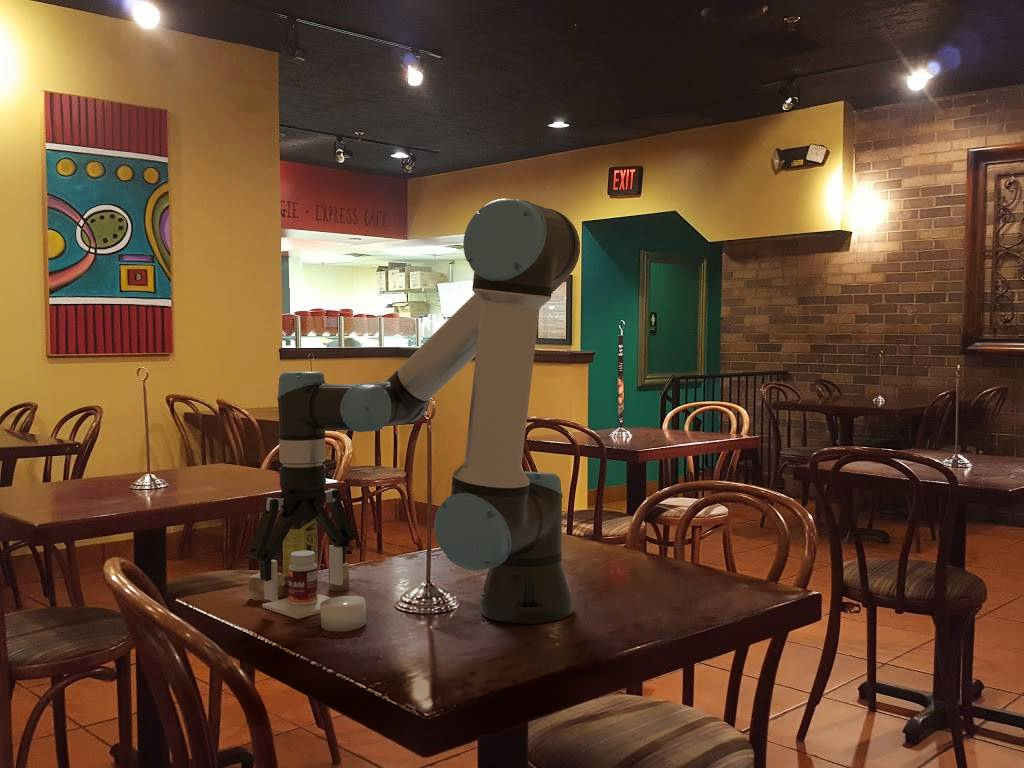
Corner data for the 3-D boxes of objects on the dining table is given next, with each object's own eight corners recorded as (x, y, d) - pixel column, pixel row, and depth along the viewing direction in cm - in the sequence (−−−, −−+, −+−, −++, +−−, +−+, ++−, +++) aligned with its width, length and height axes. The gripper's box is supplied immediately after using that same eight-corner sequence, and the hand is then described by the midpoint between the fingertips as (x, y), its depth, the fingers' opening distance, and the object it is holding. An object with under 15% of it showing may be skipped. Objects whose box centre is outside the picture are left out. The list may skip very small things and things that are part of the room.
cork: (353, 588, 169) (352, 564, 169) (337, 592, 167) (336, 567, 167) (340, 585, 172) (340, 561, 172) (324, 589, 169) (324, 564, 169)
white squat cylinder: (366, 615, 152) (364, 593, 151) (367, 628, 145) (365, 606, 145) (321, 619, 150) (320, 598, 150) (321, 633, 144) (319, 611, 143)
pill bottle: (282, 604, 157) (281, 554, 157) (302, 597, 161) (301, 548, 161) (304, 607, 155) (303, 557, 155) (323, 600, 159) (323, 551, 159)
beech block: (282, 596, 165) (281, 573, 165) (268, 602, 161) (267, 579, 161) (263, 594, 166) (262, 571, 166) (248, 600, 163) (248, 577, 162)
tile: (347, 605, 158) (347, 602, 158) (297, 618, 151) (297, 615, 151) (311, 595, 165) (311, 591, 165) (262, 607, 157) (262, 604, 157)
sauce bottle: (313, 588, 170) (311, 478, 169) (279, 588, 170) (277, 478, 169) (321, 579, 176) (320, 473, 175) (288, 579, 176) (286, 473, 176)
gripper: (347, 455, 168) (348, 574, 169) (224, 469, 150) (226, 602, 151) (374, 458, 163) (376, 581, 164) (250, 474, 145) (253, 611, 146)
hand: (304, 591), depth 158 cm, fingers open, 12 cm apart
